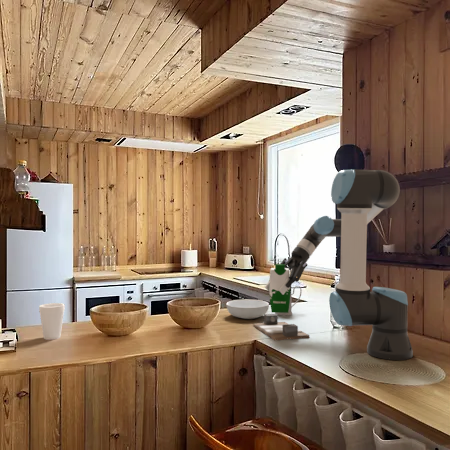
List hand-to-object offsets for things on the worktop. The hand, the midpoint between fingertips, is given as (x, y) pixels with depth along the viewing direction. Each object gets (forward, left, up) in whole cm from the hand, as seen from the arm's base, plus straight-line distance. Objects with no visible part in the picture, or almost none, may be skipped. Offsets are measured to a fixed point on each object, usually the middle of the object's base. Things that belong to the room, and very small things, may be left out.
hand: (273, 290), depth 190 cm
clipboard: (0, -3, -18) cm, 18 cm away
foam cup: (+15, +89, -18) cm, 92 cm away
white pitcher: (+34, -22, -18) cm, 44 cm away
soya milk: (+1, -3, -9) cm, 10 cm away
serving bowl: (+31, +1, -18) cm, 36 cm away
